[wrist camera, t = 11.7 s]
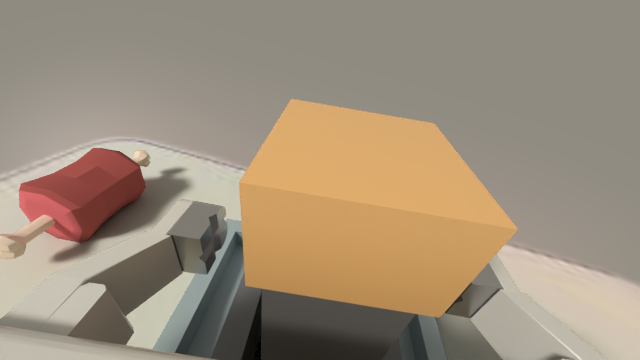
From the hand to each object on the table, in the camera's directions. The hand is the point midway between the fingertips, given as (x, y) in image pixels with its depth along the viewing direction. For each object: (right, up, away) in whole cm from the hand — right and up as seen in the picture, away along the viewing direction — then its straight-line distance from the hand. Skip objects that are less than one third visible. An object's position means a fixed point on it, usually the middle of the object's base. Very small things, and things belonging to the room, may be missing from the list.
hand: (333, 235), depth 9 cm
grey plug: (-1, -8, +5) cm, 10 cm away
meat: (-19, -1, +11) cm, 22 cm away
